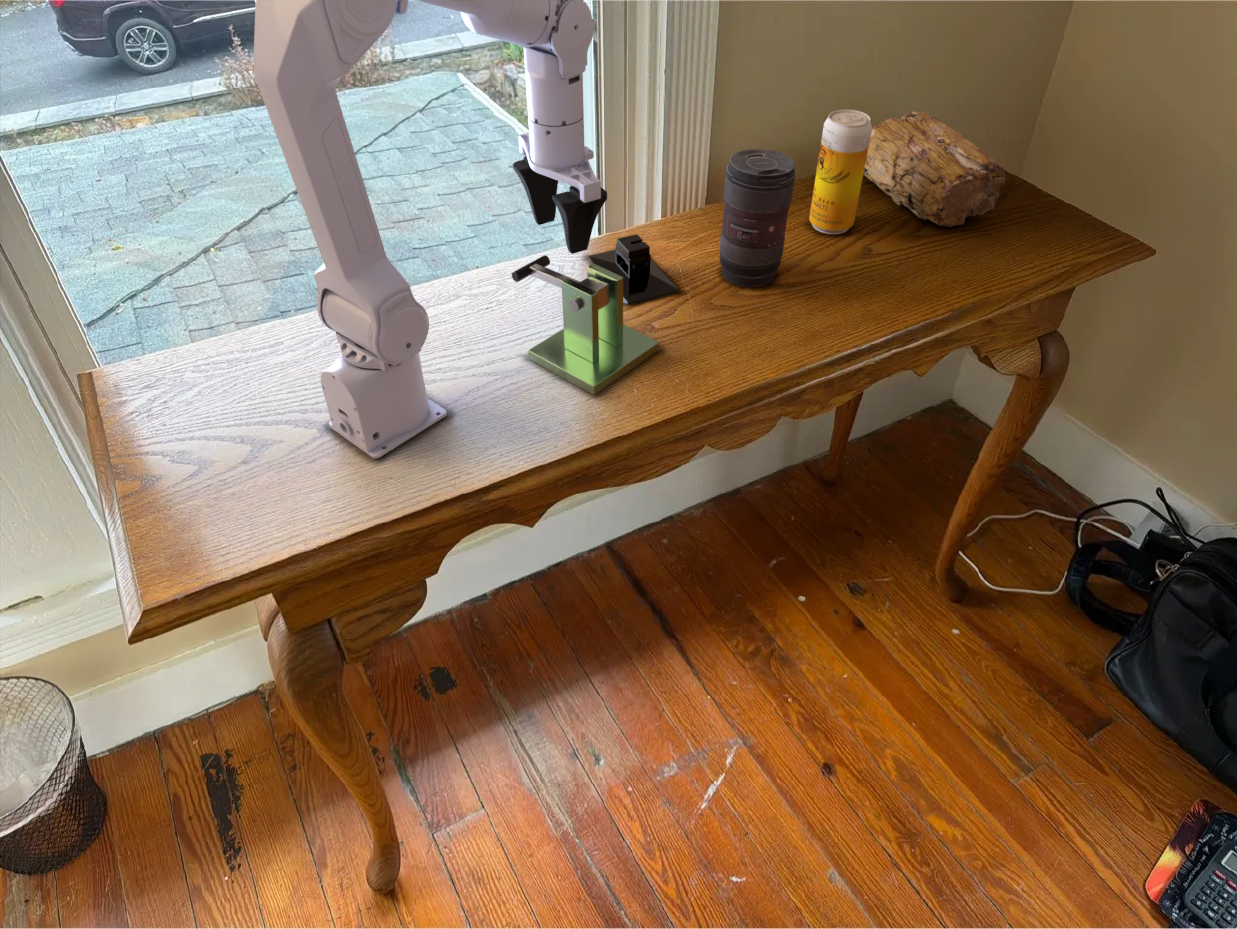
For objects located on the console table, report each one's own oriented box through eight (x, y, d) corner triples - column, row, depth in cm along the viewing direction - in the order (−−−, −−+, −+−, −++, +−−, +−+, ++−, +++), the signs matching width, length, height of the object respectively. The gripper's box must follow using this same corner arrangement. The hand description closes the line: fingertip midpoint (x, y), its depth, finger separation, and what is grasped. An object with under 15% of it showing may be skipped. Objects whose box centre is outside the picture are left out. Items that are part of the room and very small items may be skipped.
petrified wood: (1006, 219, 125) (1016, 154, 118) (923, 253, 124) (927, 190, 116) (926, 158, 138) (930, 96, 130) (850, 188, 137) (850, 128, 129)
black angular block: (679, 293, 112) (681, 260, 109) (626, 307, 110) (626, 273, 107) (636, 246, 120) (637, 214, 117) (586, 258, 118) (585, 226, 115)
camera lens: (792, 283, 114) (810, 169, 103) (735, 296, 111) (747, 181, 101) (761, 253, 119) (775, 142, 109) (706, 264, 117) (715, 152, 107)
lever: (512, 285, 102) (510, 265, 100) (544, 267, 104) (541, 248, 103) (587, 317, 95) (585, 297, 94) (618, 298, 98) (617, 278, 97)
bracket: (528, 358, 102) (522, 283, 95) (594, 318, 108) (592, 244, 101) (593, 395, 97) (592, 318, 90) (658, 350, 103) (661, 275, 96)
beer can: (800, 218, 126) (816, 111, 116) (839, 212, 127) (859, 105, 117) (820, 239, 122) (839, 129, 112) (860, 232, 123) (882, 123, 113)
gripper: (626, 131, 90) (625, 254, 99) (555, 85, 99) (561, 201, 108) (564, 147, 87) (569, 271, 96) (497, 98, 96) (508, 216, 105)
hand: (561, 235), depth 102 cm, fingers open, 7 cm apart
